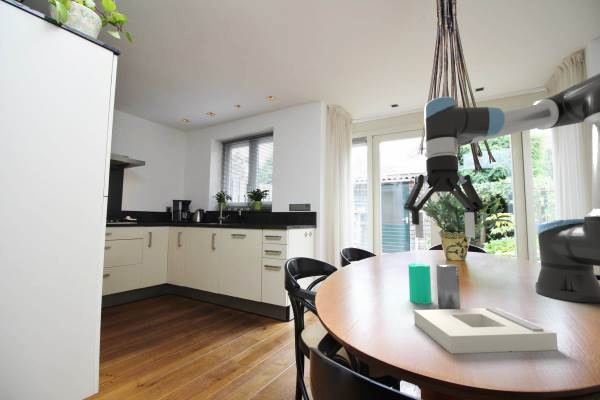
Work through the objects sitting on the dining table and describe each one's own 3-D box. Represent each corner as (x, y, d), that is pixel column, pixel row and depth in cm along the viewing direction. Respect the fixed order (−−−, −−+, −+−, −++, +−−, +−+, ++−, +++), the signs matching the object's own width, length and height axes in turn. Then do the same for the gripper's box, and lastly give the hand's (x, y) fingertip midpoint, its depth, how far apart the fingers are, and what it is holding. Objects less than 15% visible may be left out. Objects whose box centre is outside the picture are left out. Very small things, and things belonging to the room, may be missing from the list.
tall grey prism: (453, 309, 71) (450, 263, 72) (465, 316, 66) (462, 267, 67) (434, 310, 71) (432, 264, 72) (445, 317, 66) (443, 267, 67)
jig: (498, 321, 63) (497, 306, 63) (557, 349, 49) (556, 330, 49) (414, 323, 62) (413, 308, 62) (451, 353, 48) (450, 333, 48)
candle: (434, 304, 76) (432, 261, 77) (411, 303, 77) (410, 260, 78) (428, 298, 82) (426, 258, 83) (407, 297, 83) (406, 257, 84)
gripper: (477, 160, 76) (481, 236, 74) (390, 160, 75) (392, 236, 73) (497, 154, 68) (502, 238, 67) (401, 153, 67) (404, 238, 66)
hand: (445, 237), depth 70 cm, fingers open, 13 cm apart
